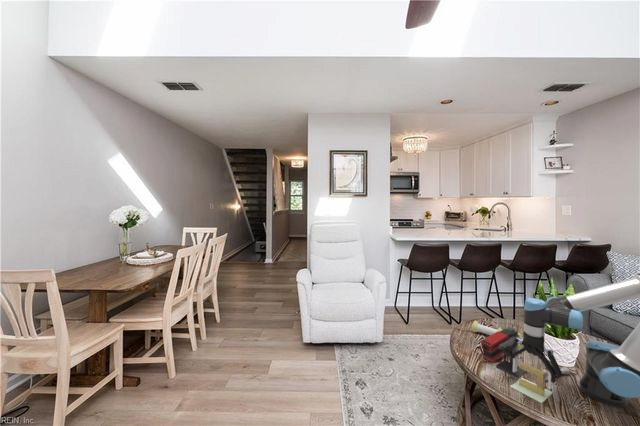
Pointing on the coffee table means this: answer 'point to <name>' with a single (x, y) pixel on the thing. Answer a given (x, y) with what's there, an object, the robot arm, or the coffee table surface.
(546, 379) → the grey bone
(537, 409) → the coffee table surface
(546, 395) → the mat
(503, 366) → the stand
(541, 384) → the c link
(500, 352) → the toy gun
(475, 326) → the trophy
